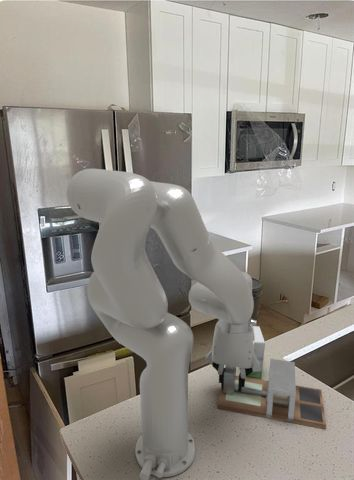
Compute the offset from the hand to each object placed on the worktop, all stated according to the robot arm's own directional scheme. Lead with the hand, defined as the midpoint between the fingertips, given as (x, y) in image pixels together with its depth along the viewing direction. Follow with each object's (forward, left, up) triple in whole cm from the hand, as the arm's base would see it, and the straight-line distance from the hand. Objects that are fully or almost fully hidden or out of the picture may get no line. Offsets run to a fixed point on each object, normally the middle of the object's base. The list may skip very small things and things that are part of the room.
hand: (231, 386), depth 93 cm
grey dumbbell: (0, -6, -1) cm, 6 cm away
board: (0, -10, -2) cm, 10 cm away
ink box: (+11, -4, -3) cm, 12 cm away
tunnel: (0, -12, -2) cm, 12 cm away
